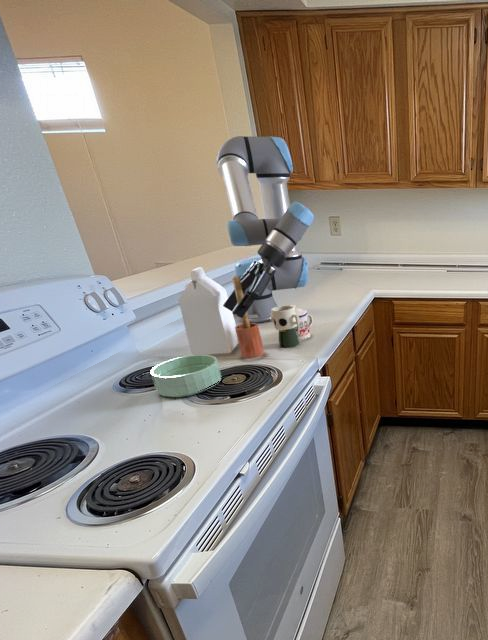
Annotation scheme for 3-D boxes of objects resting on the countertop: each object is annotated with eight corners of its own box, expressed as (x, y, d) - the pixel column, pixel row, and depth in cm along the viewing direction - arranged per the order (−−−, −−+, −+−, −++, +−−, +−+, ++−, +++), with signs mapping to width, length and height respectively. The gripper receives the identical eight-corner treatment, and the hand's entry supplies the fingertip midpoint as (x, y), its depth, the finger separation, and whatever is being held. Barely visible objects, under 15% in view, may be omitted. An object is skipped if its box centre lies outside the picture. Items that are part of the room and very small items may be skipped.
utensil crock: (238, 357, 129) (231, 326, 124) (258, 351, 133) (251, 321, 129) (248, 362, 125) (241, 330, 121) (268, 356, 129) (261, 325, 125)
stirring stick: (248, 354, 128) (230, 276, 119) (254, 352, 130) (237, 275, 120) (251, 356, 127) (233, 277, 117) (257, 354, 129) (240, 276, 119)
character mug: (269, 348, 135) (261, 309, 130) (283, 341, 141) (276, 304, 136) (296, 352, 131) (289, 312, 126) (310, 344, 137) (303, 306, 132)
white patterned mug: (295, 344, 139) (289, 310, 134) (278, 339, 143) (271, 306, 139) (322, 334, 148) (318, 301, 143) (305, 330, 152) (300, 299, 148)
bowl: (149, 388, 110) (141, 367, 107) (208, 370, 120) (202, 350, 118) (170, 405, 100) (162, 382, 98) (232, 383, 111) (227, 363, 108)
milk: (231, 354, 131) (210, 271, 120) (192, 357, 130) (167, 273, 119) (241, 342, 142) (222, 264, 131) (205, 345, 140) (184, 266, 130)
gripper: (300, 262, 118) (255, 327, 116) (273, 254, 134) (232, 311, 132) (278, 244, 113) (231, 312, 110) (252, 239, 129) (210, 298, 126)
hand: (232, 311), depth 121 cm, fingers open, 10 cm apart
